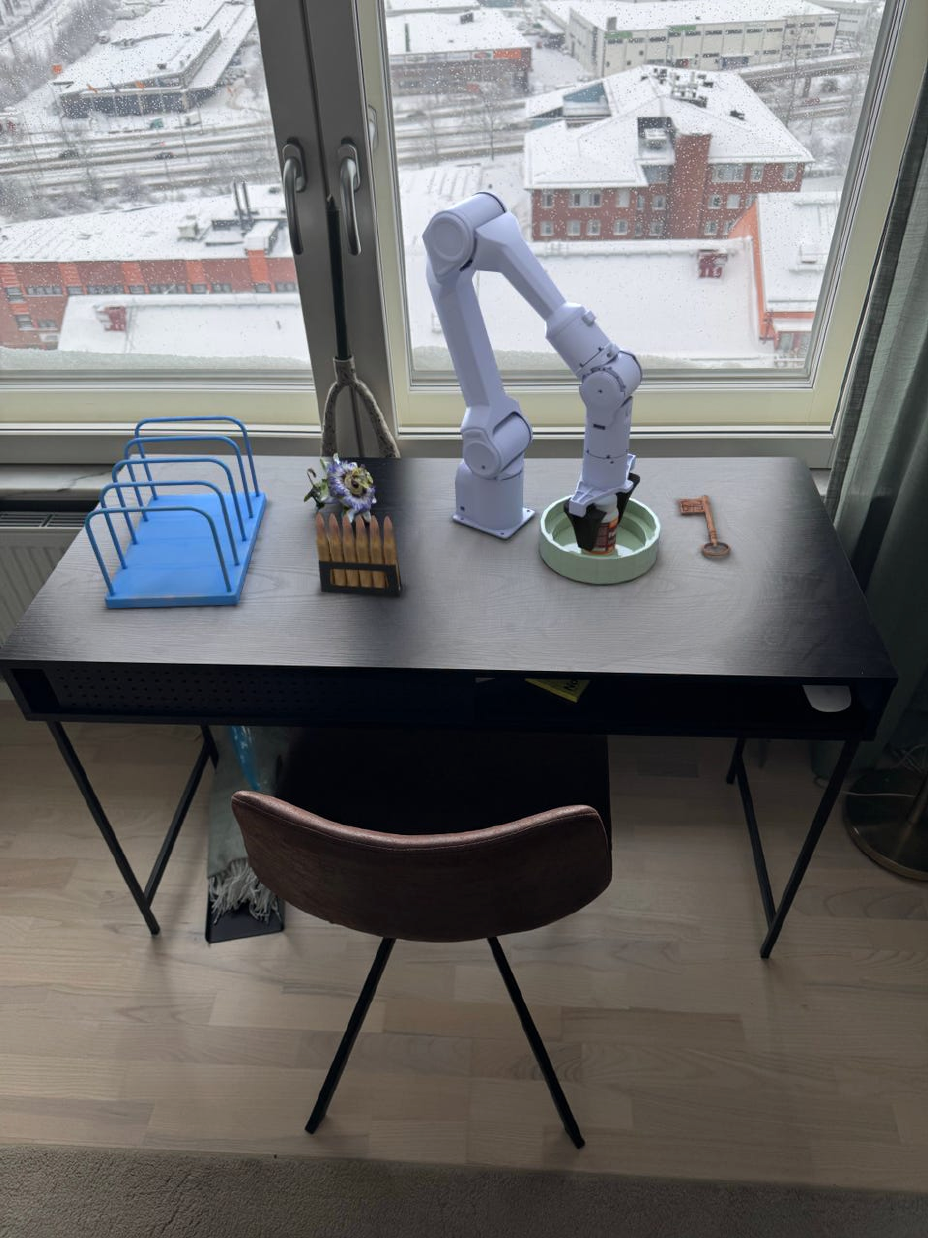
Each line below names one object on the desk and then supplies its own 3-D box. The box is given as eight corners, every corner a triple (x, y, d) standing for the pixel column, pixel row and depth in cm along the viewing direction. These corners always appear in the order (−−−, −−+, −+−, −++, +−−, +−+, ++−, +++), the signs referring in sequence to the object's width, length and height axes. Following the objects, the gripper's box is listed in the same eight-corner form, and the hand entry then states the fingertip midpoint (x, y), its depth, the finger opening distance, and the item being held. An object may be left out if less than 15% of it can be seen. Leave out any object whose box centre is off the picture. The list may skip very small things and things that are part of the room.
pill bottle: (613, 559, 128) (618, 508, 122) (579, 556, 128) (582, 505, 123) (616, 540, 131) (621, 489, 126) (582, 536, 132) (586, 486, 127)
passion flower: (368, 550, 141) (366, 523, 129) (297, 537, 140) (289, 508, 129) (382, 482, 144) (382, 449, 132) (313, 469, 143) (306, 435, 132)
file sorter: (154, 505, 142) (128, 414, 132) (267, 502, 142) (250, 411, 132) (106, 609, 123) (72, 511, 113) (238, 606, 123) (215, 508, 113)
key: (678, 500, 140) (688, 559, 128) (678, 495, 139) (688, 553, 127) (718, 498, 139) (731, 557, 127) (718, 493, 138) (732, 552, 127)
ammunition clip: (321, 592, 124) (309, 516, 117) (324, 583, 126) (312, 508, 118) (399, 596, 123) (393, 520, 116) (402, 587, 125) (395, 512, 117)
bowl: (517, 560, 129) (517, 533, 126) (576, 506, 139) (577, 480, 136) (622, 600, 121) (625, 573, 118) (676, 540, 131) (680, 513, 128)
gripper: (606, 481, 113) (599, 570, 122) (659, 432, 122) (649, 518, 131) (556, 465, 116) (552, 553, 125) (611, 418, 125) (604, 504, 134)
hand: (599, 534), depth 128 cm, fingers open, 7 cm apart
